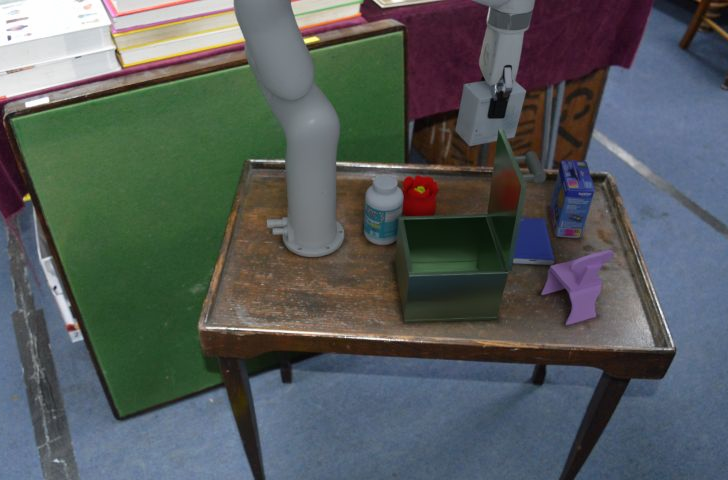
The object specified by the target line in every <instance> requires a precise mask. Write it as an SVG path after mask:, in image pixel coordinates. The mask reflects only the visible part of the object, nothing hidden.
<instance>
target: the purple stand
mask: <svg viewBox="0 0 728 480" xmlns="http://www.w3.org/2000/svg"><path fill="white" fill-rule="evenodd" d="M614 255H615V253H614V250H613V249H606V250H603V251H598V252H594V253H591V254H590V253H589V254H587V255H584V256H582V257H579V258H578V257H577V258H575V259H572V260H569V261H565V262H561V263H560V262H559V263H556V264H553V265H549V268H548V269H547V271H546V272H547V277H546V281H545V284H544V287H543V289H542V290H541V293H540V294H541V296H544V295H548V294H552V293H555V292H558V291H562V290H566V291H567V293H568V296H569V300H570V304H571V311H570V314H569V315H568V318H567V319H566V320H565V321H566V322H565V325H566V326H569V325H573V324H577V323H580V322H583V321H586V320H591V319H593V318H596V317H597V312H596V307H595V306H596V302H597V299H598V298H599V297H598V296H599V295H600V293H601V291H602V288H603V287H602V286H603V285H602V284H603V283H604V282H603V279H601V277H600V276H599V275H598V274H599V272H600V270H601V269H602V267H603V265H604V264H606V263H608V262H610V261H611V260H612V259H613V258H614Z"/></svg>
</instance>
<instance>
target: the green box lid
mask: <svg viewBox="0 0 728 480" xmlns="http://www.w3.org/2000/svg"><path fill="white" fill-rule="evenodd" d="M522 162H523V163H525V165H526V167H527V170H528V172H529V173H526V174H525V173H524V174H523V173H522V170H521V167H520V165H519V163H522ZM546 179H547V175H546V173H545V170H544V168H543V166H542V164H541V162H540V160H539V157H538V155H537V153H536V152H535V151H533V150H532V151H531V150H530V151H527V152H525V154H524V155H516V156H515V153H514V151H513V149H512V146H511V143H510V142H509V139H507V136H506V134H505V132H504V129H498V137H497V141H496V145H495V152H494V159H493V167H492V175H491V182H490V190H489V197H488V204H487V214H488V215H489V218H490V221H491V224H492V227H493V230H494V234H495V237H496V240H497V243H498V246H499V249H500V252H501V255H502V258H503V261H504V264H505V267H506V270H507V271H508V272H509V271H511V272H512V269H513V264H514V263H513V259H514V254H515V248H516V243H517V237H518V232H519V226H520V221H521V218H522V216H523V209H524V204H525V200H526V199H525V198H526V193H527V187H528V184H527V182H526V181H533V183H535V184H542V183H543V182H545V181H546Z"/></svg>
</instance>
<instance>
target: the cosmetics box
mask: <svg viewBox="0 0 728 480" xmlns="http://www.w3.org/2000/svg"><path fill="white" fill-rule="evenodd" d="M498 83H503V80H499V81H498ZM493 88H494V85H492V86H489V85H488V84H487V82H486V81H481V80H480V81H475V82H469V83H464V84H463V88H462V93H461V99H460V105H459V110H458V114H457V120H456V125H455V132H456V134H458V136H459V137H460V138H461V139H462V140H463V141H464V142H465V143H466V144H467V146H469V147H472V146H477V145H478V146H479V145H483V144H489V143H494V142H497V137H498V129H504V132H505V134H506V136H507V139H508V140H510V139H514V138H516V133H517V130H518V125H519V121H520V118H521V115H522V110H523V106H524V102H525V98H526V94H527V90H526V89H525V88H524V87H523V86H522V85H520V84H519V83H518V82H517V81H516V80H515V82H514V84H513V85H512V92H511V94H510V97H509V101H508V105H507V109H506V114H505V117H504V118H503V119H489V118H488V111H489V106H490V101H491V98H493ZM502 89H503V86H498V93H499V92H500V91H502Z"/></svg>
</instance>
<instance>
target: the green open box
mask: <svg viewBox="0 0 728 480" xmlns="http://www.w3.org/2000/svg"><path fill="white" fill-rule="evenodd" d="M395 245H396V246H395V247H396V248H395V257H394V266H395V274H396V279H397V286H398V287H397V288H398V292H399V298H400V306H401V312H402V317H403V323H404V324H424V323H426V324H427V323H452V322H453V323H454V322H457V323H458V322H482V321H497V320H498V316H499V313H500V309H501V304H502V300H503V296H504V292H505V288H506V284H507V281H508V280H507V279H508V276H509V271H507V270H506V267H505V264H504V261H503V258H502V255H501V252H500V249H499V246H498V243H497V240H496V237H495V234H494V230H493V227H492V224H491V221H490V218H489V215H488V213H476V214H475V213H471V214H469V213H468V214H442V215H441V214H440V215H438V214H437V215H433V216H407V217H406V216H402V217H399V219H398V231H397V240H396V244H395Z"/></svg>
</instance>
